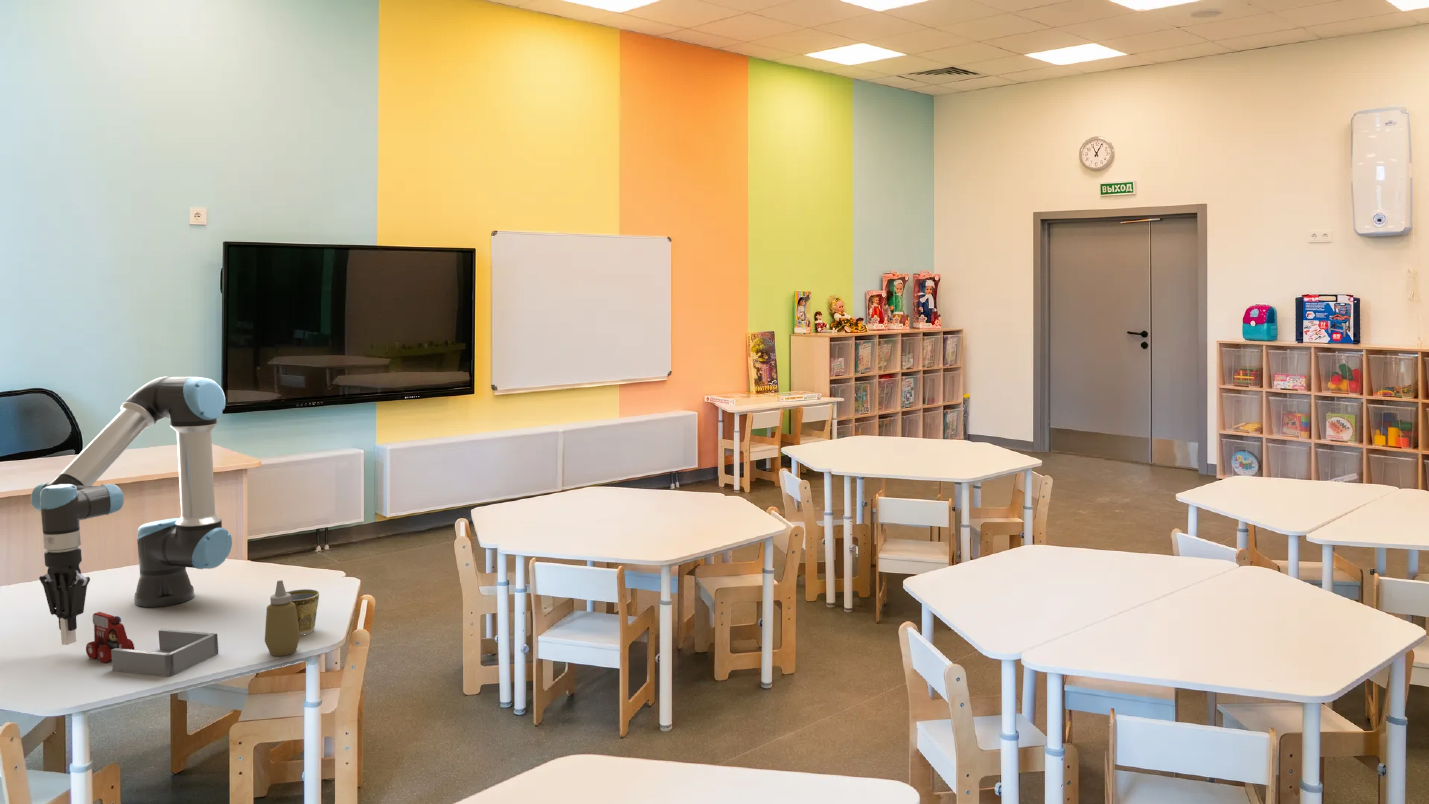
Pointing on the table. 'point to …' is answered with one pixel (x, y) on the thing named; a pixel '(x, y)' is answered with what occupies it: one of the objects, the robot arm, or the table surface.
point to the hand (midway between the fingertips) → (69, 642)
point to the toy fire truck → (107, 637)
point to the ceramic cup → (305, 608)
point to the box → (185, 653)
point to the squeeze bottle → (281, 623)
